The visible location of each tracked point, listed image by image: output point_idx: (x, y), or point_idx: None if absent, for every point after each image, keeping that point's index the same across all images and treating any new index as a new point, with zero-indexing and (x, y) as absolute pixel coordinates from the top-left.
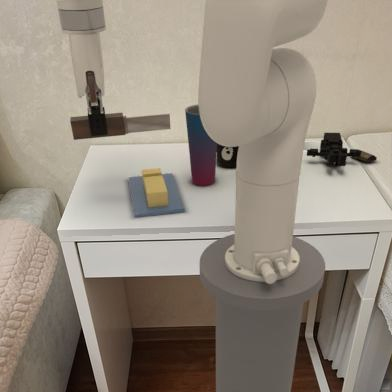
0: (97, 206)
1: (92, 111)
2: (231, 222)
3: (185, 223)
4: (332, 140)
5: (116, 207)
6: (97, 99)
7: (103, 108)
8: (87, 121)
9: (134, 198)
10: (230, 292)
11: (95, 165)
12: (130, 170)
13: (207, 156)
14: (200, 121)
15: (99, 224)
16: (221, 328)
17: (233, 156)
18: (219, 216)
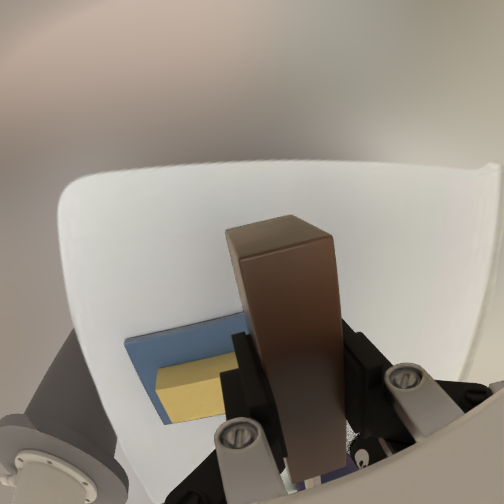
0: (176, 237)
1: (207, 464)
2: (141, 468)
3: (121, 421)
4: None
5: (172, 288)
6: (406, 438)
7: (361, 434)
8: (260, 360)
9: (204, 332)
10: None
11: (424, 184)
12: (388, 278)
13: None
14: None
15: (82, 264)
16: (38, 391)
17: (356, 463)
18: (158, 458)
